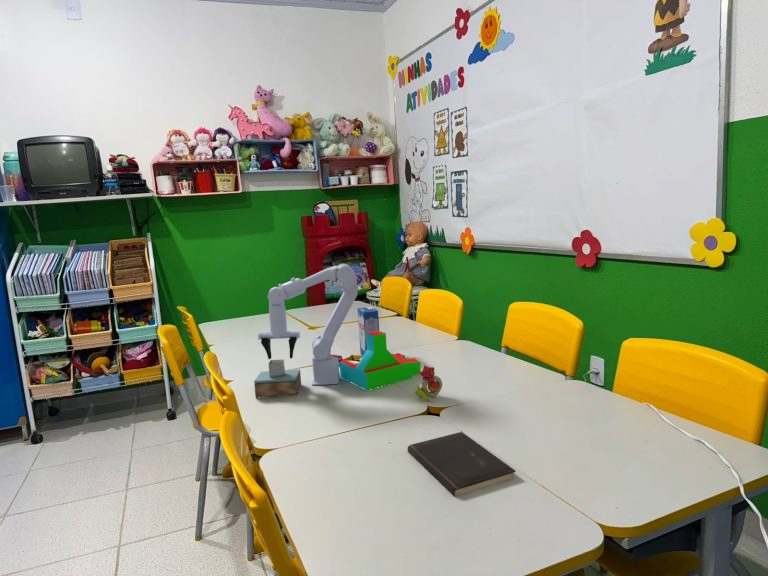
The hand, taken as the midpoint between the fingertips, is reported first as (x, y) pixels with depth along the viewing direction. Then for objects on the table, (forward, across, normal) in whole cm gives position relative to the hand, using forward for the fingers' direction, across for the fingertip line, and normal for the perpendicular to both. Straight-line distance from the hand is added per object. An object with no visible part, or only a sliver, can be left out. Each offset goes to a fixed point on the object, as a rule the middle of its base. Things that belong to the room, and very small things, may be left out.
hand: (280, 358), depth 183 cm
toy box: (+10, 0, -5) cm, 12 cm away
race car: (+10, +15, +22) cm, 28 cm away
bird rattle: (+10, +51, -21) cm, 56 cm away
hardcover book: (+10, +53, -64) cm, 84 cm away
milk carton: (+10, +32, +31) cm, 46 cm away
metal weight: (+4, 0, -6) cm, 7 cm away
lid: (+5, 0, -5) cm, 8 cm away
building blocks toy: (+10, +36, +4) cm, 38 cm away
